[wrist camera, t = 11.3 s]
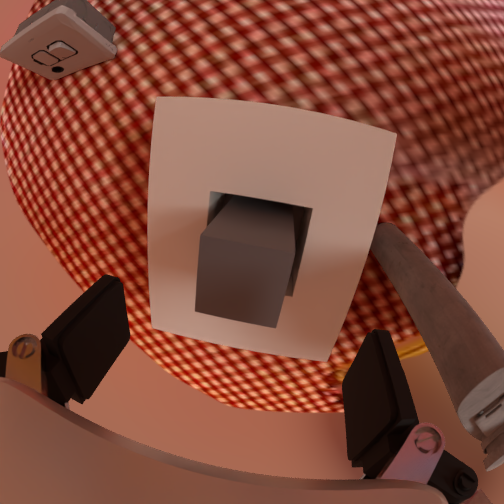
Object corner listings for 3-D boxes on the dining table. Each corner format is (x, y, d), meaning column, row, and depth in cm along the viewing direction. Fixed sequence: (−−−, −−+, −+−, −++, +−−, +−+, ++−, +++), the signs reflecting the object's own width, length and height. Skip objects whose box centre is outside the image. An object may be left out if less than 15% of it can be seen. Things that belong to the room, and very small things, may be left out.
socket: (370, 133, 19) (397, 133, 14) (321, 319, 27) (326, 361, 21) (187, 104, 20) (156, 96, 15) (175, 292, 28) (152, 327, 22)
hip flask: (464, 305, 24) (546, 440, 6) (440, 329, 26) (505, 472, 8) (384, 215, 22) (536, 402, 4) (354, 249, 24) (442, 471, 5)
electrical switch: (54, 82, 20) (-8, 71, 11) (61, 43, 18) (5, 26, 9) (120, 58, 19) (56, 28, 10) (127, 16, 17) (73, -21, 8)
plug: (292, 202, 22) (295, 253, 12) (281, 252, 23) (276, 328, 14) (237, 192, 22) (200, 234, 13) (230, 242, 24) (194, 311, 15)
